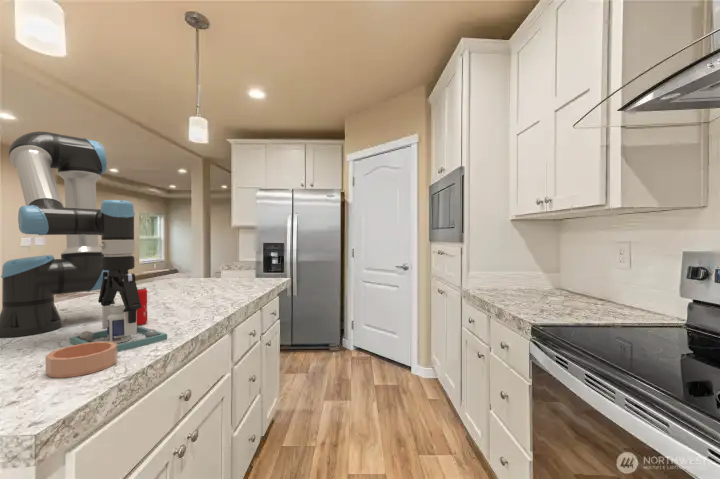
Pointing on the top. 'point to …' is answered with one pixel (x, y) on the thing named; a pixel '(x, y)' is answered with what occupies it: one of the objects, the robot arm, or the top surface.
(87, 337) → the taupe ball
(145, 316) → the beverage can
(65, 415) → the top surface
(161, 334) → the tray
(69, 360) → the bowl
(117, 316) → the pill bottle
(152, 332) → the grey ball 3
